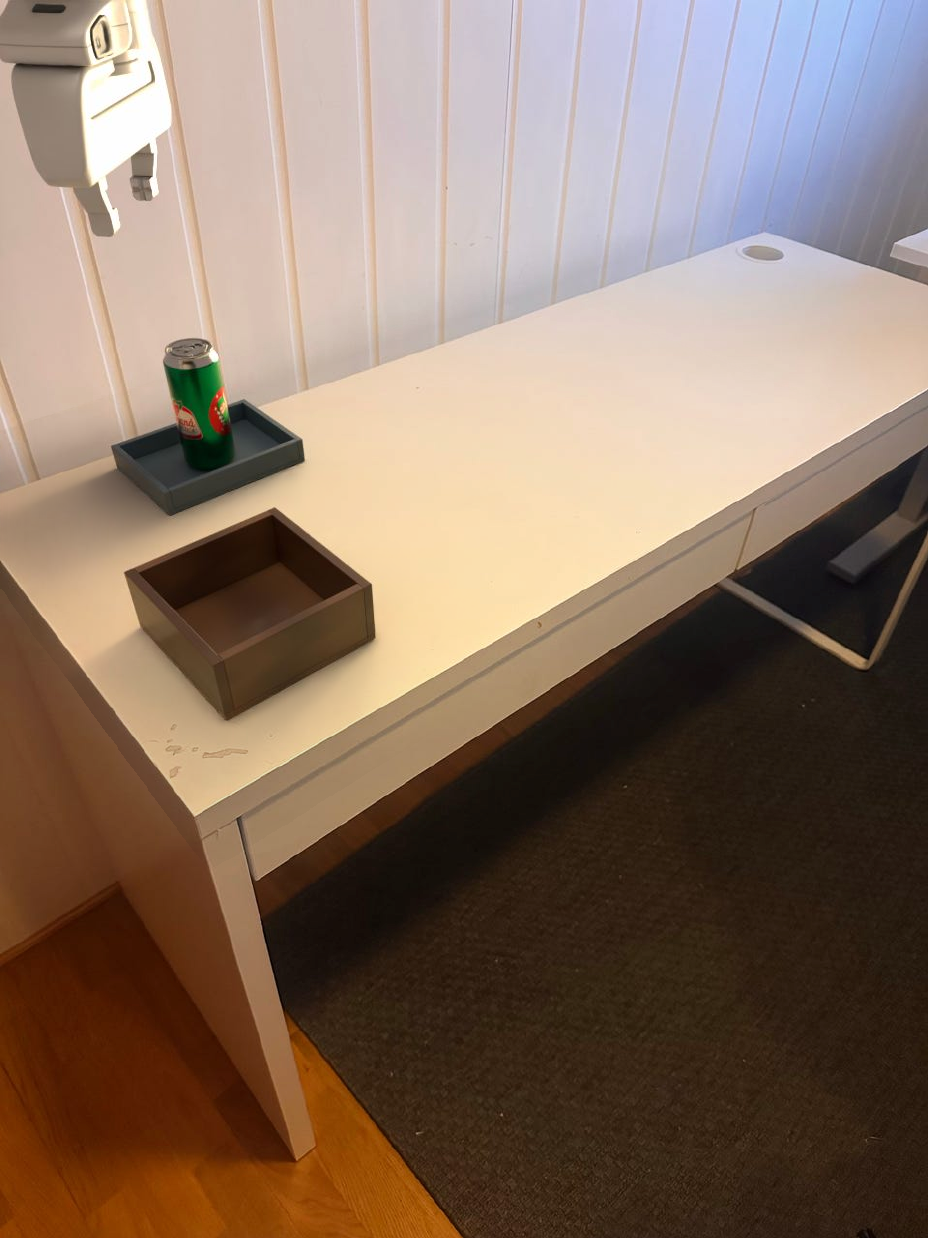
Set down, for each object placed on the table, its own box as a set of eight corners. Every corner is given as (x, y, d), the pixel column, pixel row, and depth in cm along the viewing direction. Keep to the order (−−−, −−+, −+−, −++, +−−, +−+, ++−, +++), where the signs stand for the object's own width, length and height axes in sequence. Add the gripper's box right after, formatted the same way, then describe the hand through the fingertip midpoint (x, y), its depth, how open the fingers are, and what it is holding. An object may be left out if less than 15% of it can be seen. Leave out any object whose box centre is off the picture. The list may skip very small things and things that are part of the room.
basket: (226, 721, 65) (212, 665, 61) (140, 626, 72) (123, 571, 69) (376, 638, 72) (372, 583, 68) (283, 559, 79) (274, 506, 75)
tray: (169, 515, 84) (164, 493, 82) (116, 467, 90) (110, 445, 89) (305, 460, 92) (302, 439, 90) (247, 419, 98) (244, 398, 96)
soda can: (176, 458, 91) (150, 345, 83) (221, 442, 93) (200, 331, 85) (200, 479, 88) (176, 364, 80) (245, 461, 90) (226, 349, 82)
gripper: (96, -3, 73) (133, 178, 82) (-22, 36, 58) (40, 255, 67) (172, -1, 73) (200, 181, 82) (74, 40, 58) (123, 258, 67)
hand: (128, 215), depth 74 cm, fingers open, 8 cm apart
